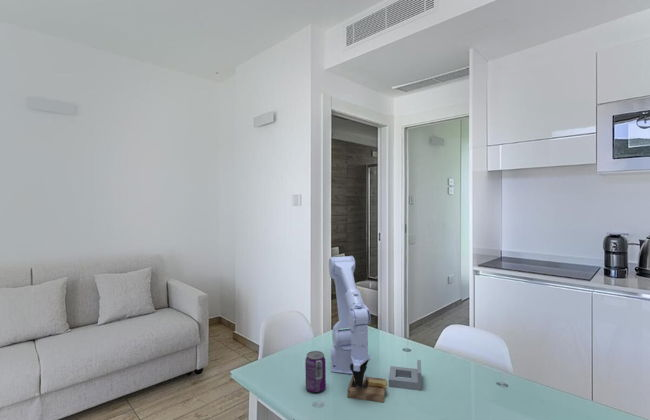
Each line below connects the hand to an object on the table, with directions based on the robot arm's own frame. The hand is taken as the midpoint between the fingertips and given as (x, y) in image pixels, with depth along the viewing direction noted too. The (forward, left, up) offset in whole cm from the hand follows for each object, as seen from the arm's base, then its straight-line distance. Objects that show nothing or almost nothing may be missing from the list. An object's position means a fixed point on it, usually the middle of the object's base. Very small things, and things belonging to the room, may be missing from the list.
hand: (360, 381), depth 115 cm
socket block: (+2, 0, -3) cm, 4 cm away
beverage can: (-16, -2, -3) cm, 16 cm away
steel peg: (0, 0, -3) cm, 3 cm away
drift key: (+6, 0, 0) cm, 6 cm away
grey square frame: (+14, +10, -3) cm, 18 cm away
